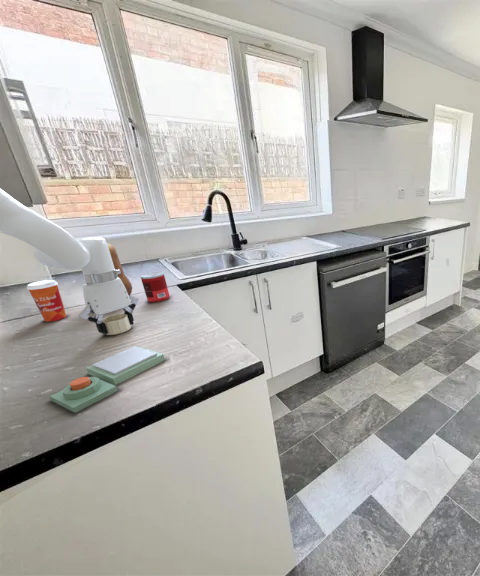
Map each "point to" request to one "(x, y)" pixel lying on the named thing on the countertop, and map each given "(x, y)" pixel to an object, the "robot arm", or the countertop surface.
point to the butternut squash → (118, 267)
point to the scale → (125, 364)
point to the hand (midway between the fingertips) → (117, 328)
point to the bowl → (117, 324)
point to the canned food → (155, 286)
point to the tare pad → (83, 395)
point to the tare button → (80, 383)
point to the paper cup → (47, 299)
